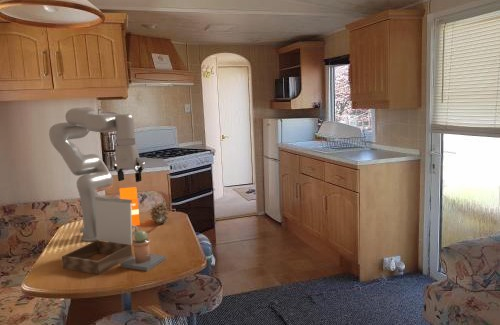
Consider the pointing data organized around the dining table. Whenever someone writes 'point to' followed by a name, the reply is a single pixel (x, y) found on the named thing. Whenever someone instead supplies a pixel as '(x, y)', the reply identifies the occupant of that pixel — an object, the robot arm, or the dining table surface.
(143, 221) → the dining table surface
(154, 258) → the slate tile
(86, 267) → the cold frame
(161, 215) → the pine cone
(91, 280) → the dining table surface
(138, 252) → the terracotta pot
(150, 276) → the dining table surface
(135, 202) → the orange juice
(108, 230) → the frame lid
